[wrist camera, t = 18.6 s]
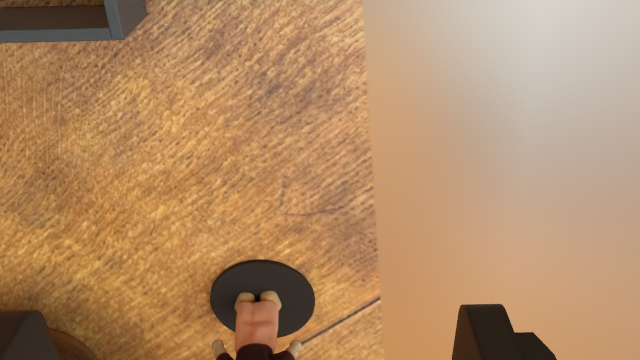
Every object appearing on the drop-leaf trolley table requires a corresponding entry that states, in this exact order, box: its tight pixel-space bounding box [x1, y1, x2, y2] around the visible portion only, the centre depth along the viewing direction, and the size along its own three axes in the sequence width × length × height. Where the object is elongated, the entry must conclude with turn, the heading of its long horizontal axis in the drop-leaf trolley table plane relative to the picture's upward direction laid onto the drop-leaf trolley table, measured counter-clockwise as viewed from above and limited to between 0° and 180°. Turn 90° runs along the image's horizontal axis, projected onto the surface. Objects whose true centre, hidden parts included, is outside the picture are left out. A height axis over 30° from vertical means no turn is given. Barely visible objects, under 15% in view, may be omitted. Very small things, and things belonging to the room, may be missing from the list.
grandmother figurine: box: [212, 291, 302, 360], centre depth 48 cm, size 8×4×13 cm, turn 104°
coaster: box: [210, 260, 315, 338], centre depth 54 cm, size 10×10×1 cm
